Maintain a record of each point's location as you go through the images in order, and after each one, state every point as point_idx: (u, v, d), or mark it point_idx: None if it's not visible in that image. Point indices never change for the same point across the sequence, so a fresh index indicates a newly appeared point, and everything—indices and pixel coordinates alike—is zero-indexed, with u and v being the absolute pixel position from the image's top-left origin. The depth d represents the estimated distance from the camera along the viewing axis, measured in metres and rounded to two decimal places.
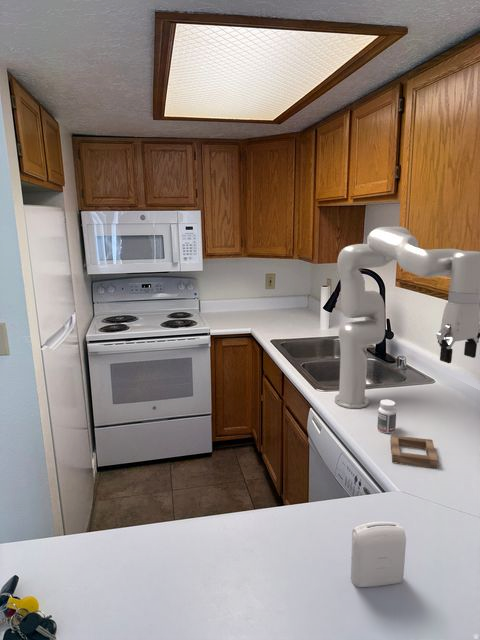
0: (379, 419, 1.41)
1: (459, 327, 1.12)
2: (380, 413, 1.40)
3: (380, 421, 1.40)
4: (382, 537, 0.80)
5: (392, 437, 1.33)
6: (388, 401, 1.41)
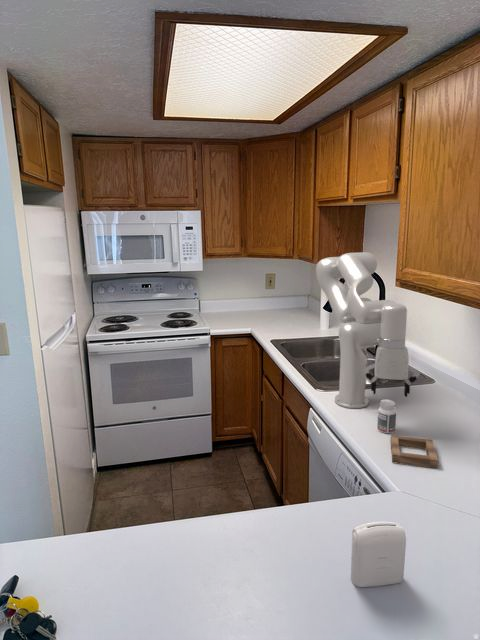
0: (379, 419, 1.41)
1: None
2: (380, 413, 1.40)
3: (380, 421, 1.40)
4: (382, 537, 0.80)
5: (392, 437, 1.33)
6: (388, 401, 1.41)
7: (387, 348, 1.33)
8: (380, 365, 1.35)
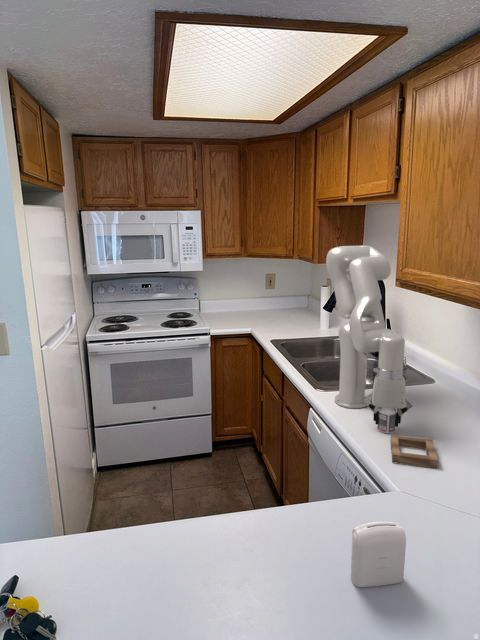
0: (379, 419, 1.41)
1: None
2: (380, 413, 1.40)
3: (380, 421, 1.40)
4: (382, 537, 0.80)
5: (392, 437, 1.33)
6: None
7: (385, 378, 1.36)
8: (377, 394, 1.38)
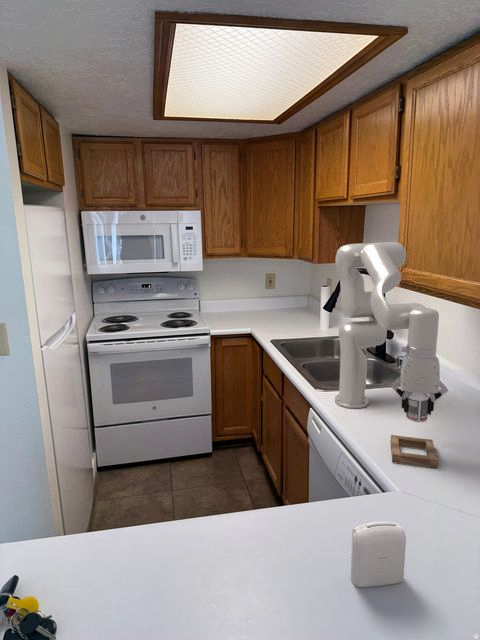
0: (409, 406, 1.23)
1: None
2: (410, 399, 1.22)
3: (410, 409, 1.22)
4: (382, 537, 0.80)
5: (392, 437, 1.33)
6: None
7: (416, 358, 1.18)
8: (407, 377, 1.20)
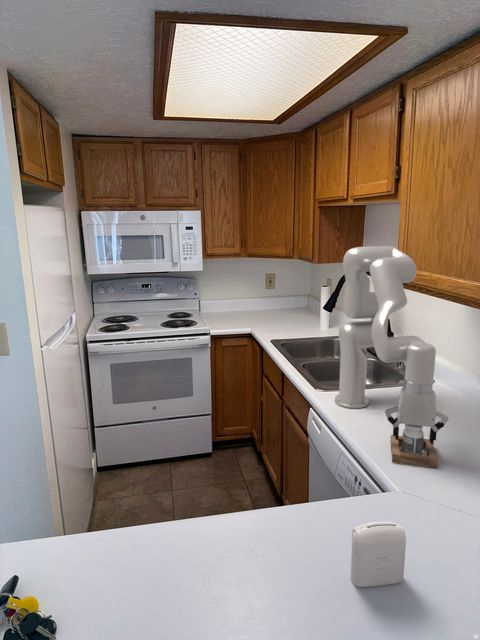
0: (404, 442, 1.26)
1: None
2: (405, 436, 1.25)
3: (406, 445, 1.26)
4: (382, 537, 0.80)
5: (392, 437, 1.33)
6: None
7: (413, 392, 1.20)
8: (404, 410, 1.23)
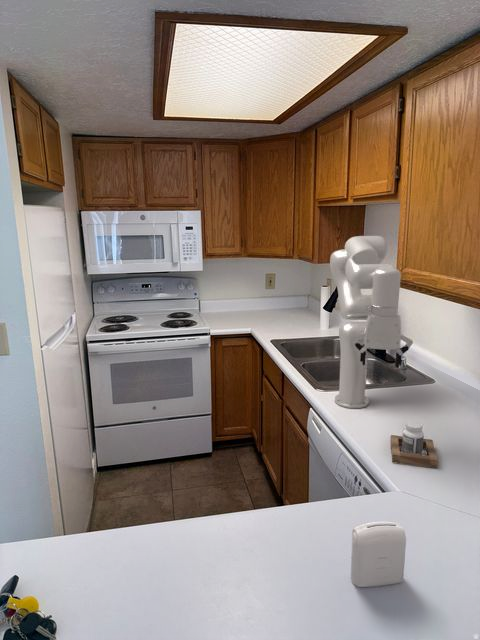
0: (404, 442, 1.26)
1: None
2: (406, 436, 1.25)
3: (406, 445, 1.26)
4: (382, 537, 0.80)
5: (392, 437, 1.33)
6: (414, 422, 1.26)
7: (379, 316, 1.23)
8: (370, 334, 1.26)
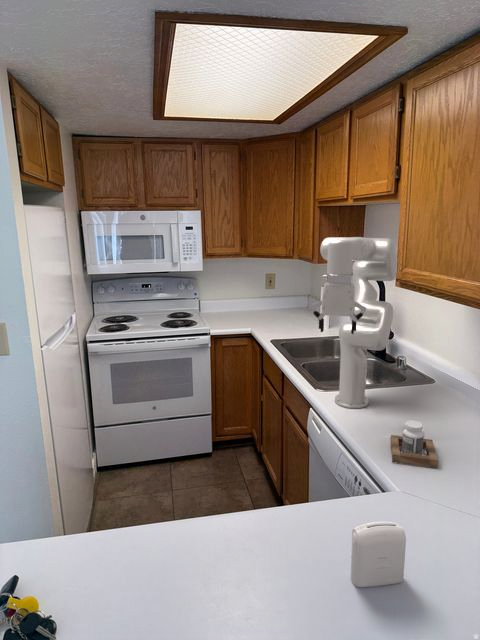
0: (404, 442, 1.26)
1: None
2: (406, 436, 1.25)
3: (406, 445, 1.26)
4: (382, 537, 0.80)
5: (392, 437, 1.33)
6: (414, 422, 1.26)
7: (333, 283, 1.31)
8: (326, 301, 1.34)
